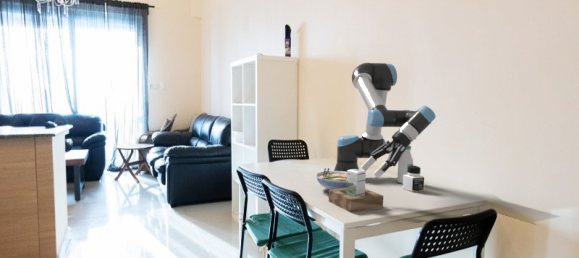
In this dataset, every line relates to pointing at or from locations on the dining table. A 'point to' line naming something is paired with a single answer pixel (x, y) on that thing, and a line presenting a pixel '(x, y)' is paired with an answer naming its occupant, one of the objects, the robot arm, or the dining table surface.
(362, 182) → the syrup box
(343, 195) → the walnut holder
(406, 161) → the milk bottle
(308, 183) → the dining table surface
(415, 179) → the medicine bottle
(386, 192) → the dining table surface
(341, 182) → the ramen bowl
